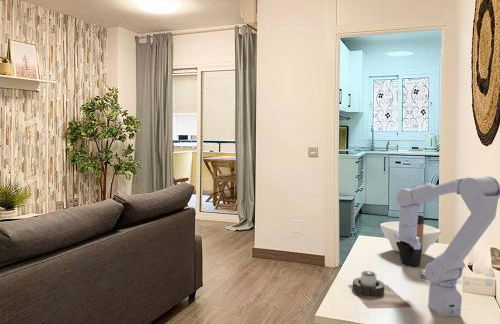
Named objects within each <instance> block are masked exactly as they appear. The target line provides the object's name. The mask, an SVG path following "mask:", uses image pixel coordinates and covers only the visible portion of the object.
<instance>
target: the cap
mask: <svg viewBox="0 0 500 324" xmlns="http://www.w3.org/2000/svg"><path fill="white" fill-rule="evenodd" d="M377 276H378V275H377V273H375V272H374V271H372V270H371V271H370V270H363V271H361V272H360V277H361V282H360V284H361V285H363V286H368V287H376V279H377Z"/></svg>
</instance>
